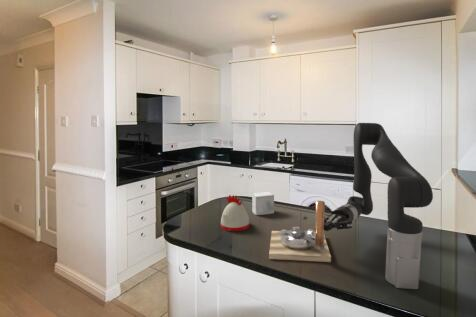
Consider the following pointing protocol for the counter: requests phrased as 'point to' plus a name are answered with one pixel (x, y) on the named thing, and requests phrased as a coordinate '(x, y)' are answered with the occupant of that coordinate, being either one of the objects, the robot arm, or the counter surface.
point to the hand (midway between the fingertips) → (325, 228)
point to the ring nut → (306, 233)
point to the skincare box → (263, 203)
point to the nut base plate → (296, 251)
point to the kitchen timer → (234, 216)
